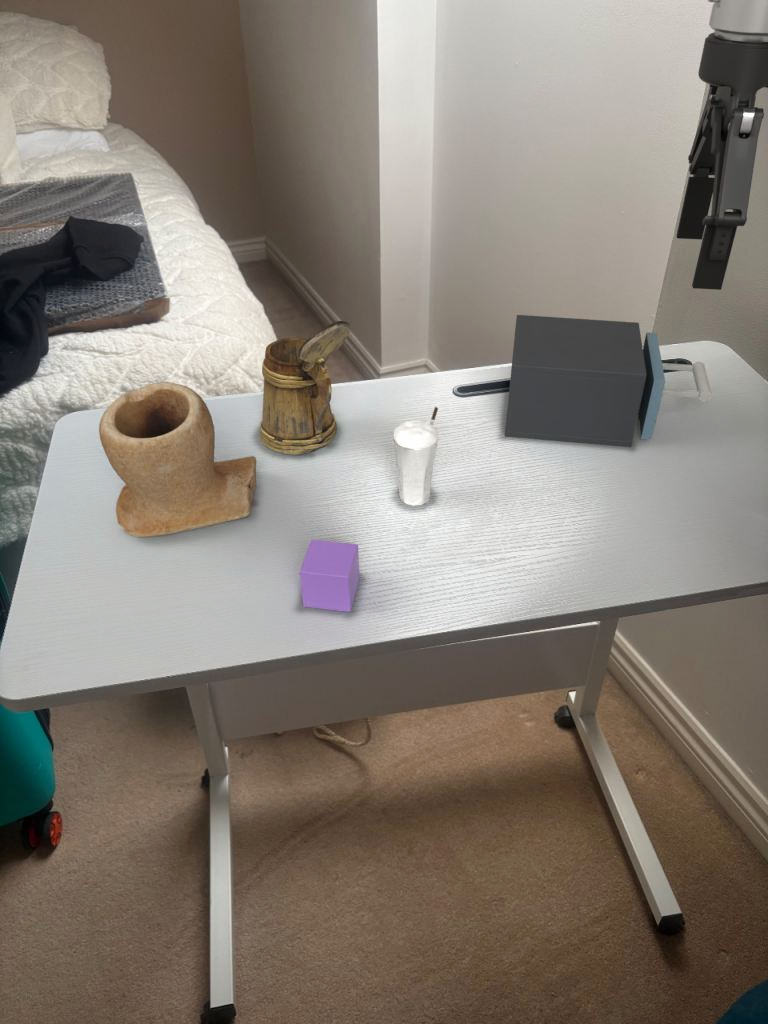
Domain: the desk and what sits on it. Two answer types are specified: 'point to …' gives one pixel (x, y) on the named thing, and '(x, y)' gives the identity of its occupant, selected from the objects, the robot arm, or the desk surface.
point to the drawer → (657, 381)
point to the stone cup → (171, 463)
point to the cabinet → (575, 380)
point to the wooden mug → (300, 391)
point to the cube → (330, 575)
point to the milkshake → (415, 459)
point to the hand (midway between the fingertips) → (697, 261)
